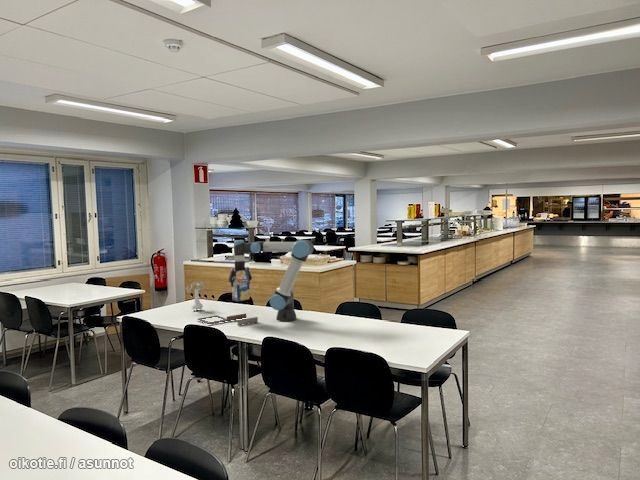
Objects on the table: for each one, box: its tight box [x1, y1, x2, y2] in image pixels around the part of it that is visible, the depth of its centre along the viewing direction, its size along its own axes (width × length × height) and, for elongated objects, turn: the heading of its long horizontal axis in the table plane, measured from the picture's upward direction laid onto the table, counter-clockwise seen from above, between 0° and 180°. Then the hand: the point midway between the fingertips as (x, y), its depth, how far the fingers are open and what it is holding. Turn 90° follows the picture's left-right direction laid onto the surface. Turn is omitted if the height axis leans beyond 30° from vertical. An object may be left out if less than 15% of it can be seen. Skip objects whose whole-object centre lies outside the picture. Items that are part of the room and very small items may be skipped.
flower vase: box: [184, 280, 206, 310], centre depth 394 cm, size 13×18×25 cm
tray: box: [197, 314, 228, 324], centre depth 351 cm, size 20×16×2 cm
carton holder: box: [226, 313, 259, 326], centre depth 346 cm, size 18×16×4 cm
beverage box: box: [231, 269, 251, 302], centre depth 345 cm, size 7×11×22 cm, turn 133°
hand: (240, 290), depth 345 cm, fingers closed on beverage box, 11 cm apart
